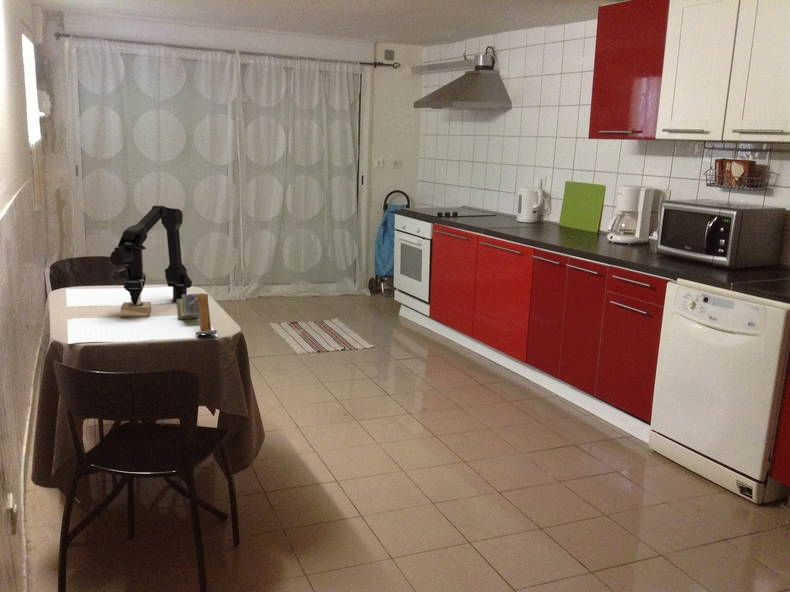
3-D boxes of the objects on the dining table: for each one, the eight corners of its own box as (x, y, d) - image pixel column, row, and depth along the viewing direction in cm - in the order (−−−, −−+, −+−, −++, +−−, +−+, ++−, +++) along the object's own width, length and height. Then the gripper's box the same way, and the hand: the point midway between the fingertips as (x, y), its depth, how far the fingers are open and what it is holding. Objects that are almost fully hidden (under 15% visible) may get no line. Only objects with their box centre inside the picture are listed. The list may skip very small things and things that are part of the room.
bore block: (124, 312, 272) (123, 302, 271) (151, 311, 275) (150, 301, 274) (120, 318, 263) (120, 307, 262) (148, 317, 265) (148, 307, 264)
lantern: (180, 344, 263) (196, 334, 237) (176, 300, 265) (192, 285, 239) (200, 342, 267) (219, 332, 241) (196, 298, 269) (214, 284, 243)
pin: (132, 311, 270) (131, 291, 268) (141, 311, 271) (141, 291, 269) (130, 313, 266) (130, 293, 265) (140, 313, 267) (140, 292, 266)
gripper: (115, 258, 271) (117, 297, 274) (108, 266, 254) (110, 308, 257) (145, 258, 274) (146, 297, 277) (140, 266, 256) (142, 307, 260)
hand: (136, 302), depth 268 cm, fingers open, 9 cm apart
